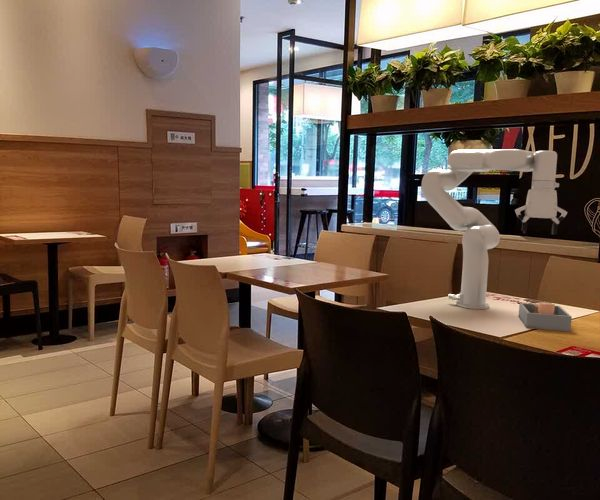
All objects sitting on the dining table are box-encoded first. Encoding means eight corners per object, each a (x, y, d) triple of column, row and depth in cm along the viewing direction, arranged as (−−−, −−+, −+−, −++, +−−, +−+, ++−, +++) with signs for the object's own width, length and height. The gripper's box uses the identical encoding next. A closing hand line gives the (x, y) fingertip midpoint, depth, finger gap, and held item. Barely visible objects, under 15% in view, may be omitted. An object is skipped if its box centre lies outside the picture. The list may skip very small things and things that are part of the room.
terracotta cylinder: (539, 324, 189) (540, 304, 188) (535, 321, 194) (537, 301, 193) (554, 326, 188) (556, 305, 188) (550, 323, 193) (552, 303, 193)
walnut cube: (532, 317, 201) (533, 303, 200) (547, 318, 200) (548, 304, 199) (534, 320, 196) (535, 306, 196) (549, 321, 195) (550, 307, 194)
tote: (526, 327, 188) (527, 313, 187) (518, 316, 205) (519, 302, 204) (570, 331, 185) (571, 316, 184) (558, 319, 202) (559, 306, 201)
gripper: (566, 187, 201) (562, 234, 203) (515, 185, 205) (512, 232, 207) (571, 186, 194) (567, 236, 196) (518, 185, 198) (514, 233, 200)
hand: (538, 234), depth 201 cm, fingers open, 9 cm apart
